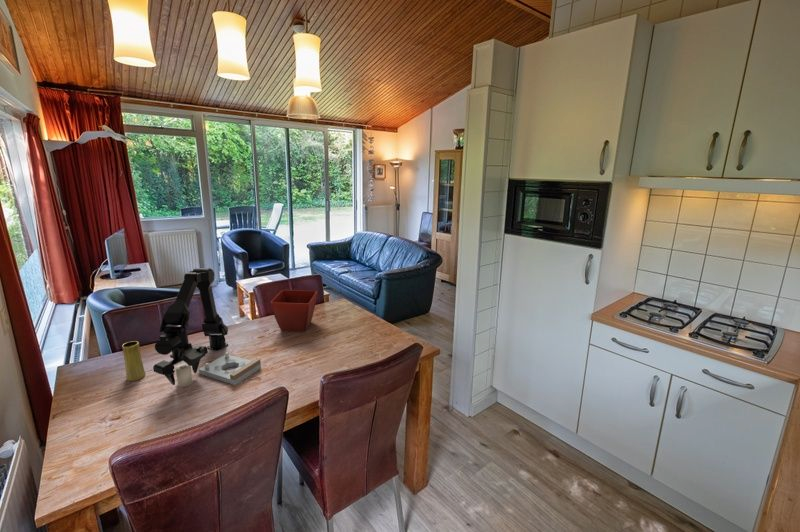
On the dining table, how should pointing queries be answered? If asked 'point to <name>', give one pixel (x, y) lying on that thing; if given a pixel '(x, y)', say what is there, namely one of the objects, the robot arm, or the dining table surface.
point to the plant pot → (294, 309)
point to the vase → (133, 361)
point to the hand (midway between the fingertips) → (184, 378)
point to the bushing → (184, 375)
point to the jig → (231, 376)
